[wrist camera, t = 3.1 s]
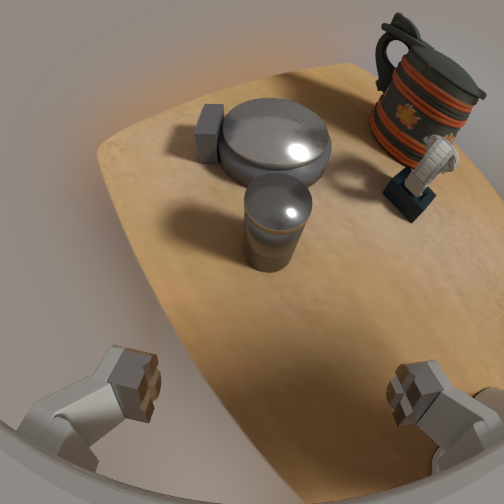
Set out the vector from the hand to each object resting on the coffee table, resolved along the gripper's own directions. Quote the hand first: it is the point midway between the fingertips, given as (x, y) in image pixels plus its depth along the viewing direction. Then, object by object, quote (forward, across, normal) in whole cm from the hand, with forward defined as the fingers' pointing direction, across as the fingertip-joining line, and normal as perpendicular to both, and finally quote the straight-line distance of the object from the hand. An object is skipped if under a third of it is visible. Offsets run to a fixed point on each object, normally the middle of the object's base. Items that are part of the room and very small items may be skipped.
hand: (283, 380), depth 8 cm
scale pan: (+28, 0, +9) cm, 29 cm away
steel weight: (+20, 0, -3) cm, 21 cm away
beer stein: (+38, +22, +13) cm, 45 cm away
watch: (+27, +18, +3) cm, 33 cm away
